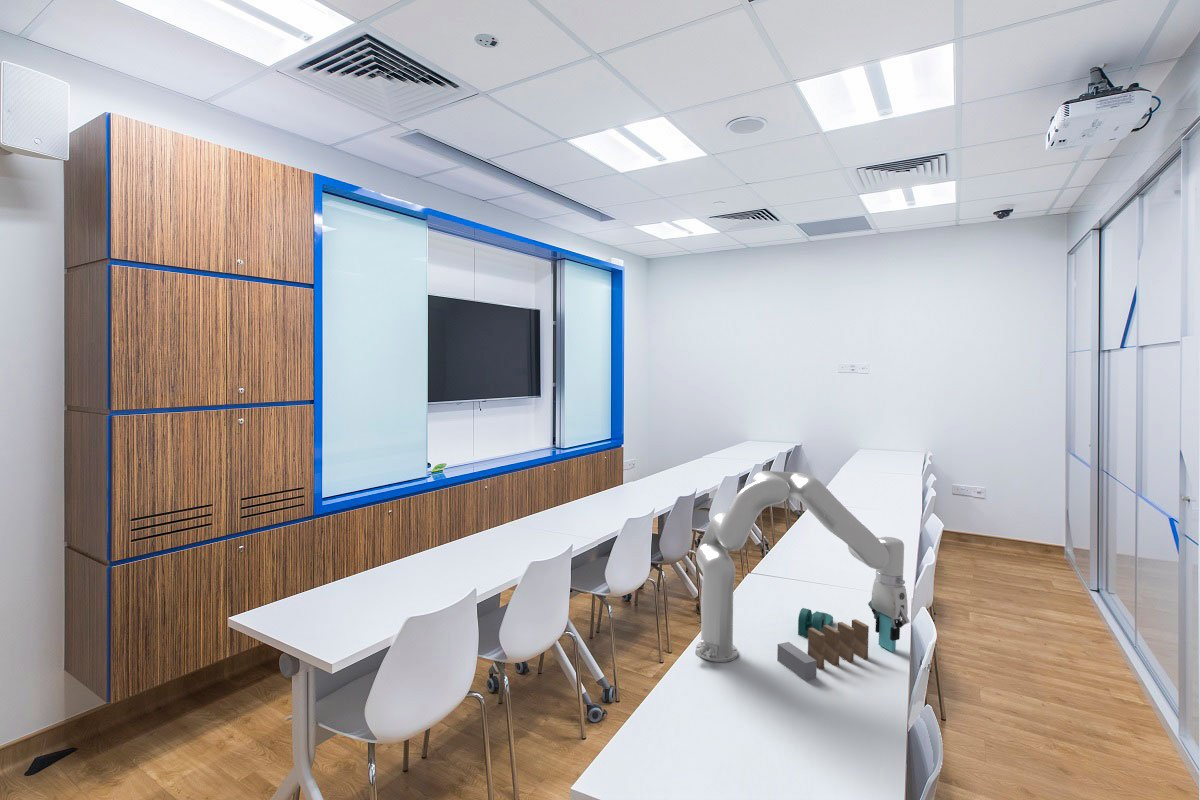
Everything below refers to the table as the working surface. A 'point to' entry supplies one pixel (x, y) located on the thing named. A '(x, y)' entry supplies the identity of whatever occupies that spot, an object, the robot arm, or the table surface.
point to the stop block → (797, 661)
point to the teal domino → (886, 633)
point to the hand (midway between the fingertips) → (887, 635)
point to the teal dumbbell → (812, 621)
